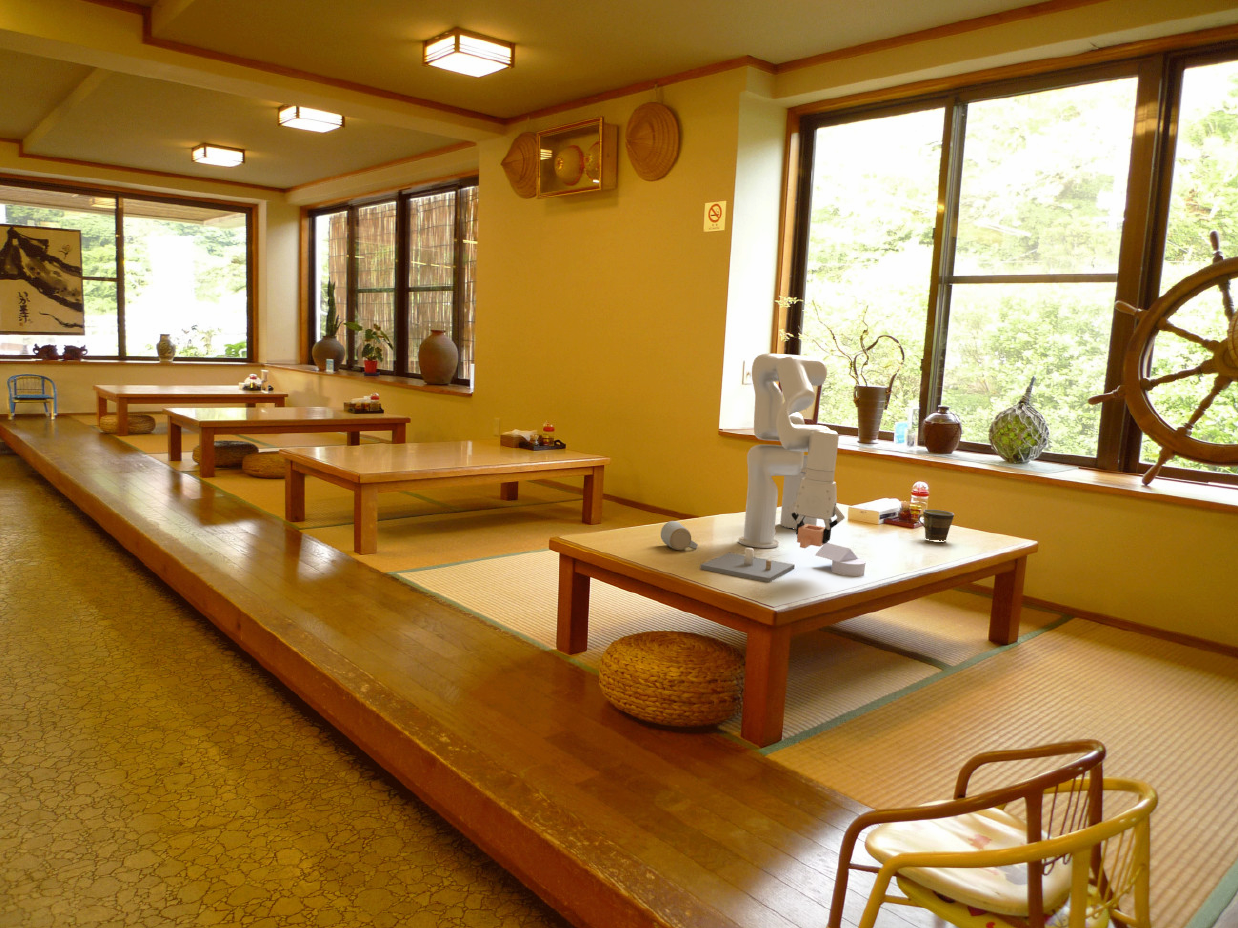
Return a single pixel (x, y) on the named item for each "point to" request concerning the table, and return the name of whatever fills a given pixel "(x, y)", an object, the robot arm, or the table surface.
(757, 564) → the base plate
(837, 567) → the wedge on round base
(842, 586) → the table surface
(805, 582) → the table surface
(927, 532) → the ceramic cup
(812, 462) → the robot arm
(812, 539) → the square frame with post
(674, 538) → the ceramic mug
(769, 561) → the dowel pin
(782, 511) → the cylinder vase
